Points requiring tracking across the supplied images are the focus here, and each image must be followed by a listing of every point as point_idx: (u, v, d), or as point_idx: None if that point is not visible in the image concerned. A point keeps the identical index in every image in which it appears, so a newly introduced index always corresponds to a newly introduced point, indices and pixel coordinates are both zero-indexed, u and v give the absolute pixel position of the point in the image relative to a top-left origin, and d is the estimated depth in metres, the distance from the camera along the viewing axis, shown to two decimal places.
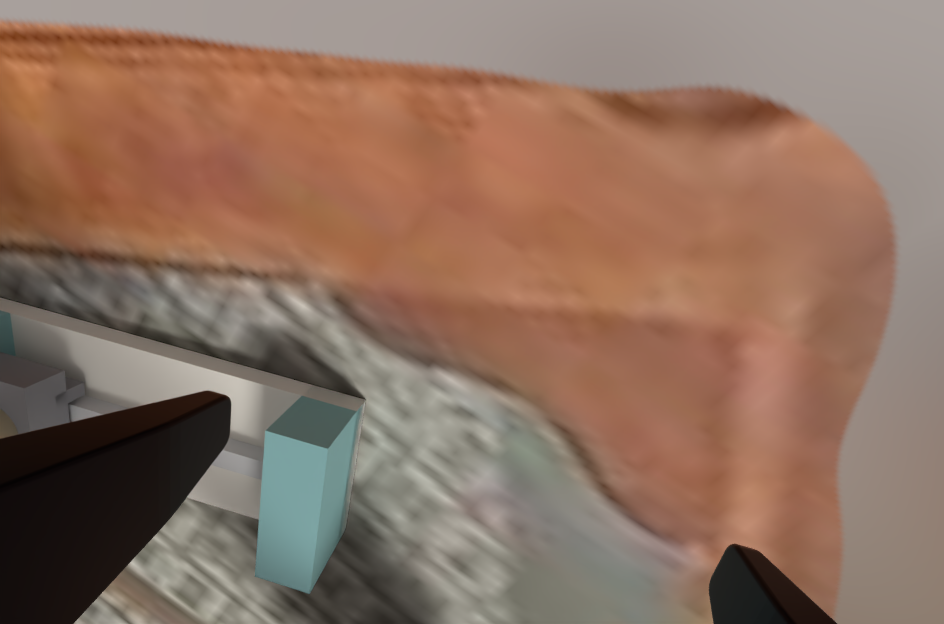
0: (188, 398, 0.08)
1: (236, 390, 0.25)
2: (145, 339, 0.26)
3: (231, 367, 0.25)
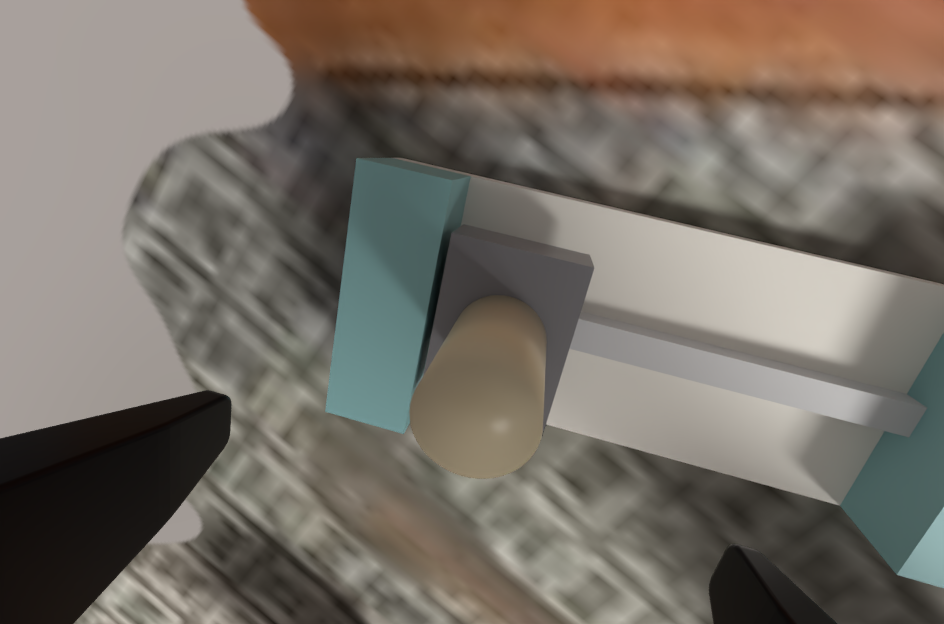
0: (188, 398, 0.08)
1: (843, 287, 0.16)
2: None
3: (819, 256, 0.17)
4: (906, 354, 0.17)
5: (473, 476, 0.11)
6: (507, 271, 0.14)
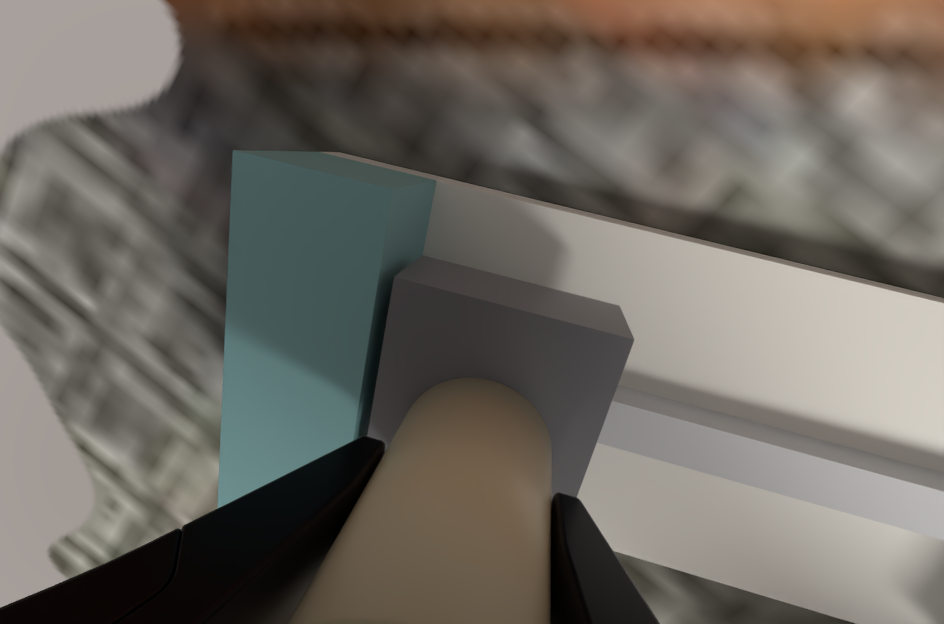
0: (353, 447, 0.08)
1: None
2: (725, 245, 0.12)
3: None
4: None
5: None
6: (487, 340, 0.09)
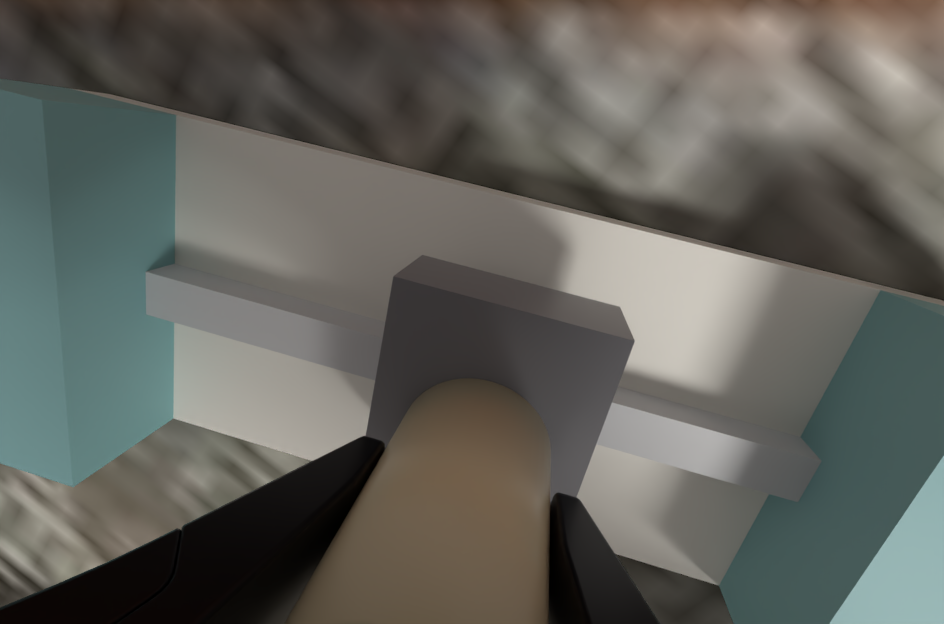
0: (353, 446, 0.08)
1: (702, 281, 0.11)
2: (460, 181, 0.12)
3: (673, 235, 0.11)
4: (796, 380, 0.11)
5: None
6: (486, 341, 0.09)
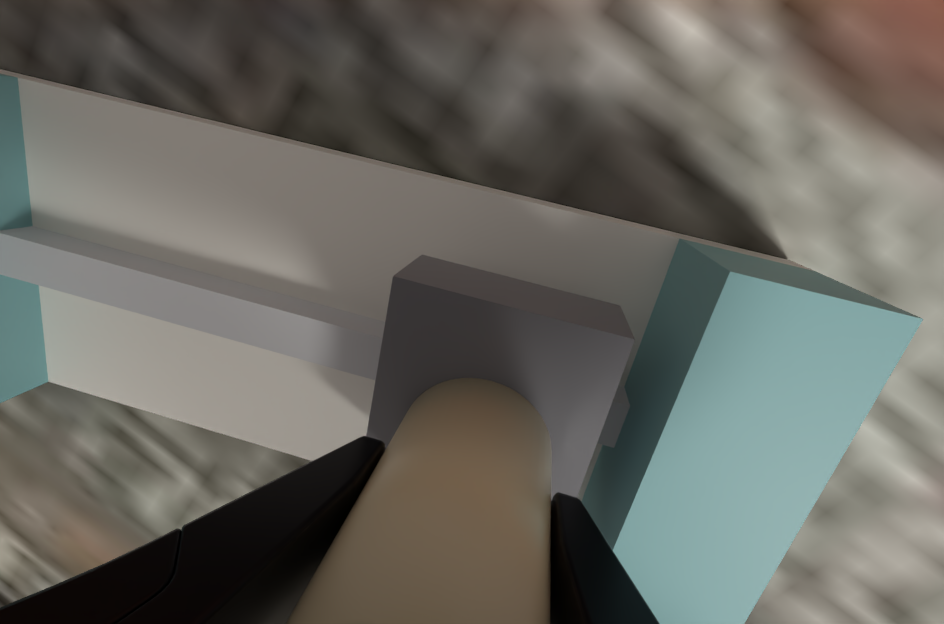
0: (353, 447, 0.08)
1: (516, 233, 0.11)
2: (299, 141, 0.13)
3: (496, 190, 0.12)
4: None
5: None
6: (486, 340, 0.09)
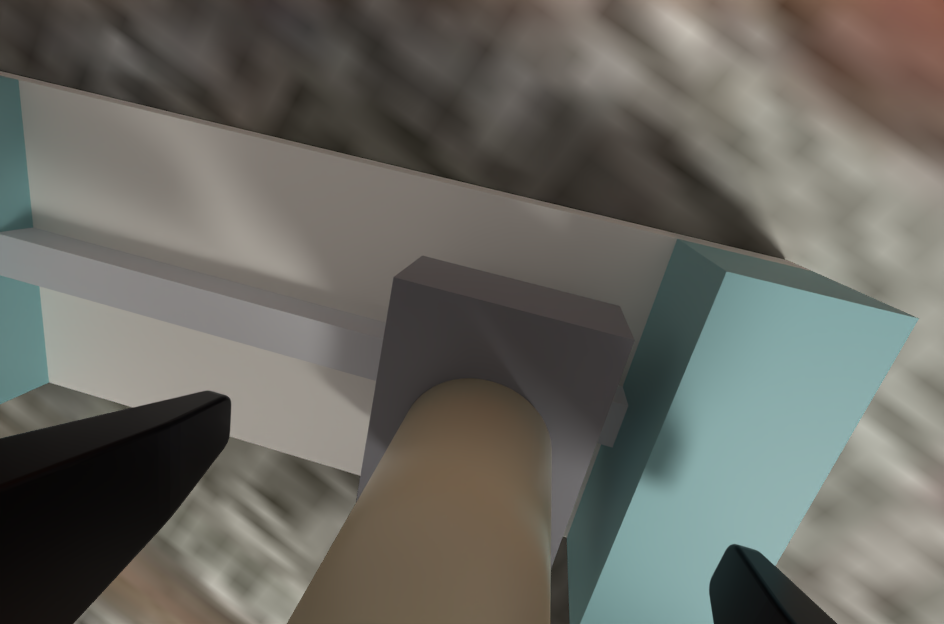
0: (188, 398, 0.08)
1: (514, 234, 0.11)
2: (299, 143, 0.13)
3: (494, 191, 0.12)
4: None
5: None
6: (487, 341, 0.09)
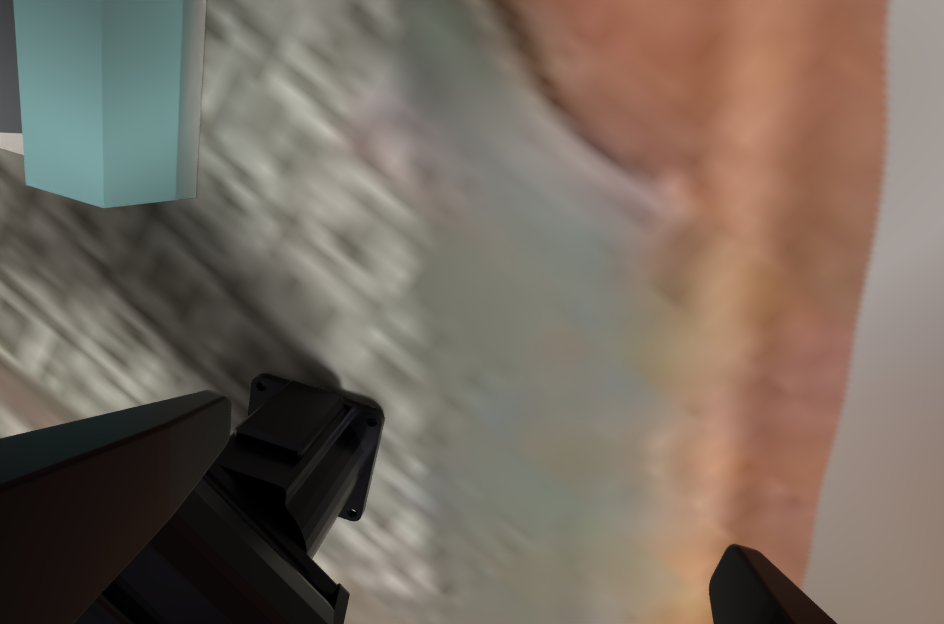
0: (188, 398, 0.08)
1: None
2: None
3: None
4: None
5: None
6: None
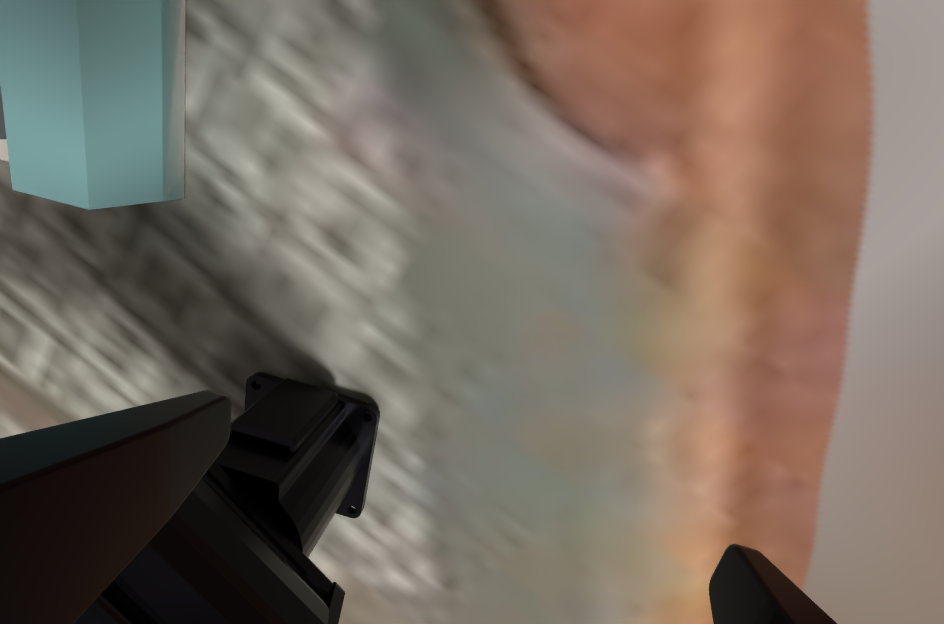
0: (188, 398, 0.08)
1: None
2: None
3: None
4: None
5: None
6: None
